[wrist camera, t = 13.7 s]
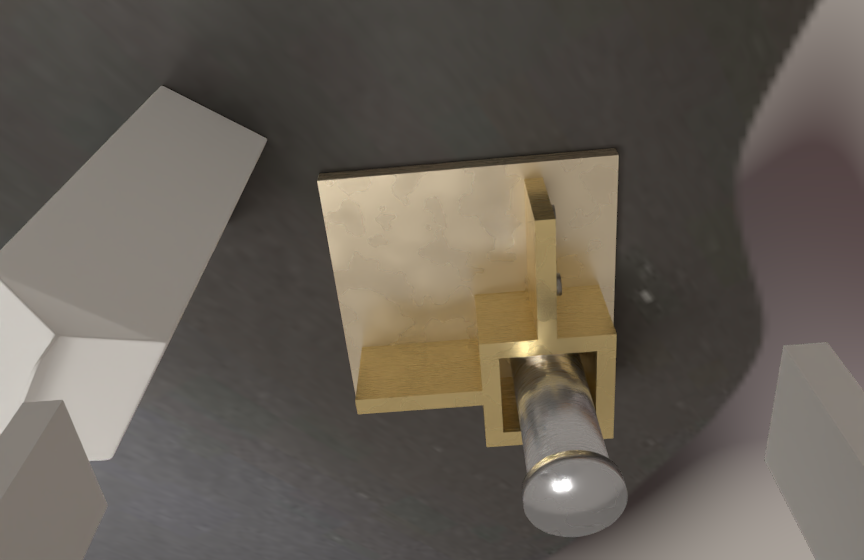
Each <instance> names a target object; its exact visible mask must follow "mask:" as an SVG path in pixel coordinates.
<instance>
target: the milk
mask: <svg viewBox="0 0 864 560" xmlns="http://www.w3.org/2000/svg"><path fill="white" fill-rule="evenodd" d="M266 142H267V139H266V138H265V137H263V136H261V135H259V134H257V133H255V132H253V131H251V130H249V129H247V128H245V127H243V126H241V125H239V124H237V123H235V122H233V121H231V120H229V119H227V118H225V117H224V116H222V115H220V114H218V113H216V112H214V111H212V110H210V109H208V108H206V107H204V106H202V105H200V104H198V103H196V102H194V101H192V100H190V99H188V98H186V97H184V96H182V95H180V94H178V93H176V92H174V91H172V90H170V89H168V88H166V87H164V86H160V87H159V88H158V89H157V90H156V91H155V92H154V93H153V94H152V95H151V96H150V97H149V98H148V99H147V100H146V101H145V102H144V104H143V105H142V106H141V107H140V108H139V109H138V110H137V111H136V112H135V113H134V114H133V115H132V116H131V117H130V118H129V119H128V120H127V121H126V122H125V123H124V124H123V125H122V126H121V127H120V128H119V129H118V130H117V131H116V132H115V133H114V134H113V135H112V136H111V137H110V138H109V139H108V140H107V141H106V142H105V143H104V144H103V146H102V147H101V148H100V149H99V150H98V151H97V152H96V153H95V154H94V155H93V156H92V157H91V158H90V159H89V160H88V161H87V162H86V163H85V164H84V165H83V166H82V167H81V168H80V169H79V170H78V171H77V172H76V173H75V174H74V175H73V176H72V177H71V178H70V179H69V180H68V181H67V182H66V183H65V184H64V185H63V186H62V188H61V189H60V190H59V191H58V192H57V193H56V194H55V195H54V196H53V197H52V198H51V199H50V200H49V201H48V202H47V203H46V204H45V205H44V206H43V207H42V208H41V209H40V210H39V211H38V212H37V213H36V214H35V215H34V216H33V217H32V218H31V219H30V220H29V221H28V222H27V223H26V224H25V225H24V226H23V227H22V228H21V230H20V231H19V232H18V233H17V234H16V235H15V236H14V237H13V238H12V239H11V240H10V241H9V242H8V243H7V244H6V245H5V246H4V247H3V248H2V249H1V250H0V435H1V434H2V432H3V431H4V429H5V428H6V426H7V425H8V423H9V422H10V421H11V419H12V418H13V416H14V415H15V413H16V412H17V410H18V409H19V407H20V406H21V404H22V403H25V402H39V401H52V400H63V401H64V403H65V406H66V408H67V410H68V413H69V415H70V417H71V420H72V422H73V425H74V427H75V429H76V432H77V434H78V436H79V439H80V441H81V443H82V446H83V448H84V451H85V453H86V455H87V458H88V460H89V461H98V460H109V459H111V458H112V457H113V455H114V454H115V452H116V450H117V448H118V446H119V444H120V442H121V439H122V437H123V435H124V433H125V431H126V429H127V427H128V425H129V423H130V421H131V419H132V417H133V415H134V413H135V411H136V409H137V407H138V405H139V403H140V401H141V399H142V397H143V395H144V393H145V390H146V388H147V386H148V384H149V382H150V380H151V378H152V376H153V374H154V372H155V370H156V368H157V366H158V364H159V362H160V360H161V358H162V356H163V354H164V352H165V350H166V348H167V346H168V343H169V341H170V339H171V337H172V335H173V333H174V331H175V329H176V327H177V325H178V323H179V321H180V319H181V317H182V315H183V313H184V311H185V309H186V307H187V305H188V303H189V301H190V299H191V296H192V294H193V292H194V290H195V288H196V286H197V284H198V282H199V280H200V278H201V276H202V274H203V272H204V270H205V268H206V266H207V264H208V262H209V260H210V258H211V256H212V254H213V252H214V249H215V247H216V245H217V243H218V241H219V239H220V237H221V235H222V233H223V231H224V229H225V227H226V225H227V223H228V221H229V219H230V217H231V215H232V213H233V210H234V208H235V206H236V204H237V202H238V200H239V198H240V196H241V194H242V192H243V190H244V188H245V186H246V184H247V182H248V179H249V177H250V175H251V173H252V171H253V169H254V167H255V165H256V163H257V161H258V159H259V157H260V155H261V153H262V151H263V148H264V146H265V144H266Z"/></svg>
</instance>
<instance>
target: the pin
mask: <svg viewBox="0 0 864 560" xmlns="http://www.w3.org/2000/svg"><path fill="white" fill-rule="evenodd" d="M510 363H511V370H512V376H513V383H514V389H515V396H516V403H517V409H518V416H519V422H520V429H521V435H522V442H523V449H524V455H525V462H526V468H527V475H526V476H525V478H524V481H523V484H522V499H523V506H524V511H525V514H526V516H527V518H528V519H529V520H530V522H531V523H532V524H533V525H534V526H536V527H537V528H539V529H540V530H542V531H544V532H546V533H549V534H552V535H556V536H562V537H578V536H585V535H589V534H593V533H595V532H598V531H600V530H602V529H604V528H606V527H608V526H609V525H611V524H612V523H613V522H614V521H616V520H617V519H618V517H619V516H620V515H621V513H622V512H623V510H624V508H625V506H626V503H627V489H626V485H625V482H624V479H623V475H622V473H621V471H620V469H619V468H618V466H617V465H616V464H615V463H614V462H613V461H612V460H610V459H609V458H608V454H607V451H606V447H605V443H604V440H603V436H602V433H601V429H600V426H599V422H598V419H597V415H596V411H595V408H594V404H593V401H592V397H591V394H590V390H589V387H588V383H587V379H586V376H585V372H584V369H583V365H582V362H581V358H580V355H579V353H566V354H553V355H539V356H526V357H513V358H510Z"/></svg>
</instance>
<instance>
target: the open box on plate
mask: <svg viewBox="0 0 864 560" xmlns="http://www.w3.org/2000/svg"><path fill="white" fill-rule="evenodd" d="M618 162H619V155H618V153H617V151H616V149H615V148H609V149H598V150H586V151H575V152H563V153H552V154H540V155H529V156H517V157H506V158H494V159H482V160H471V161H459V162H448V163H436V164H425V165H413V166H402V167H390V168H379V169H367V170H356V171H344V172H332V173H321V174H319V177H318V180H317V183H318V189H319V194H320V200H321V205H322V211H323V216H324V222H325V228H326V233H327V239H328V244H329V250H330V255H331V261H332V267H333V272H334V278H335V283H336V289H337V294H338V300H339V306H340V311H341V317H342V322H343V328H344V333H345V339H346V345H347V350H348V356H349V361H350V367H351V372H352V378H353V384H354V389H355V395H356V399H355V402H356V407H357V413H358V414H369V413H382V412H396V411H410V410H424V409H437V408H451V407H465V406H478V405H483V413H484V424H485V435H486V446H487V447H495V446H510V445H523V442H522V435H521V429H520V422H519V416H518V409H517V403H516V396H515V389H514V383H513V376H512V370H511V363H510V358H513V357H526V356H539V355H553V354H566V353H579V355H580V358H581V362H582V365H583V369H584V372H585V376H586V379H587V383H588V387H589V390H590V394H591V397H592V401H593V404H594V408H595V411H596V415H597V419H598V422H599V426H600V429H601V433H602V436H603V439H609V438H613V428H614V399H615V370H616V340H617V334H616V331H615V328H614V325H613V322H614V290H615V258H616V226H617V194H618Z"/></svg>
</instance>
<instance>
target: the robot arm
mask: <svg viewBox="0 0 864 560" xmlns="http://www.w3.org/2000/svg"><path fill="white" fill-rule="evenodd" d="M764 461H765V463H766V465H767V467H768V468H769V470H770V472H771V474H772V476H773V478H774V480H775V482H776V484H777V486H778V488H779V490H780V492H781V494H782V496H783V497H784V500H785V501H786V503H787V505H788V507H789V509H790V511H791V513H792V515H793V517H794V519H795V521H796V522H797V525H798V527H799V529H800V530H801V533H802V534H803V536H804V538H805V540H806V542H807V544H808V546H809V548H810V550H811V552H812V554H813V556H814V558H815V560H864V391H863V389H862V388H861V387H860V385H859V384H858V383H857V382H856V380H855V379H854V377H853V376H852V375H851V373H850V372H849V371H848V369H847V368H846V367H845V365H844V364H843V363H842V362H841V360H840V359H839V358H838V356H837V355H836V353H835V352H834V351H833V349H832V348H831V347H830V346H829V344H828V343H827V342H826V343H825V342H824V343H811V344H798V345H784V346H783V351H782V357H781V363H780V369H779V375H778V381H777V387H776V393H775V399H774V405H773V411H772V417H771V423H770V429H769V435H768V442H767V447H766V453H765V459H764ZM107 506H108V505H107V503H106V500H105V498H104V496H103V493H102V491H101V488H100V486H99V484H98V481H97V479H96V477H95V474H94V472H93V470H92V467H91V465H90V462H89V460H88V458H87V455H86V453H85V451H84V448H83V446H82V443H81V441H80V439H79V436H78V434H77V432H76V429H75V427H74V425H73V422H72V420H71V417H70V415H69V413H68V410H67V408H66V406H65V403H64V401H63V400H52V401H39V402H25V403H22V404H21V406H20V407H19V409H18V410H17V412H16V413H15V415H14V416H13V418H12V419H11V421H10V422H9V423H8V425H7V426H6V428H5V429H4V431H3V432H2V434H1V435H0V560H83V558H84V556H85V554H86V551H87V549H88V547H89V545H90V543H91V541H92V538H93V536H94V534H95V532H96V530H97V528H98V526H99V523H100V521H101V519H102V517H103V515H104V513H105V510H106V508H107Z"/></svg>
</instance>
